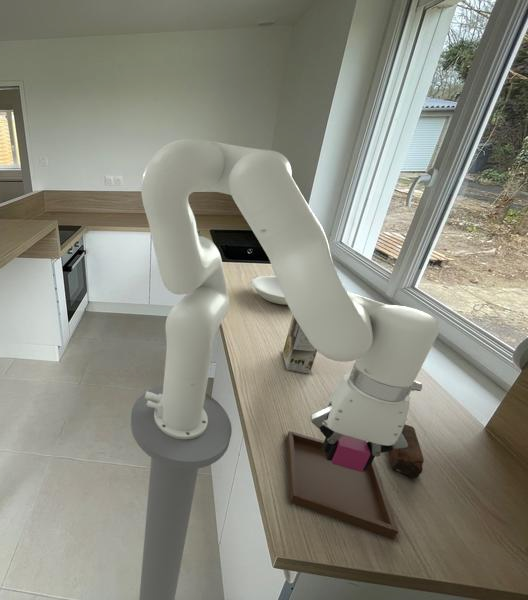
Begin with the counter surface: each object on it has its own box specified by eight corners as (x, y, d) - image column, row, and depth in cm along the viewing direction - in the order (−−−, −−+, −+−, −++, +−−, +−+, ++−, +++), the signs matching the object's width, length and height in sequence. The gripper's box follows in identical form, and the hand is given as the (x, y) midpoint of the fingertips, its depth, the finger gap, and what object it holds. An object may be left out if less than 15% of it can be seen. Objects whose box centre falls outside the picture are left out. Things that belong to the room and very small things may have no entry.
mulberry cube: (332, 463, 58) (339, 445, 56) (328, 444, 62) (335, 426, 60) (362, 472, 56) (370, 454, 54) (355, 451, 60) (364, 434, 58)
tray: (290, 502, 58) (293, 495, 57) (286, 437, 71) (288, 430, 70) (393, 539, 53) (398, 531, 52) (368, 461, 66) (372, 454, 65)
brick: (384, 434, 72) (392, 419, 70) (406, 442, 71) (414, 426, 69) (391, 471, 64) (400, 455, 62) (416, 481, 62) (427, 465, 60)
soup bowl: (315, 299, 137) (319, 285, 135) (300, 319, 121) (304, 303, 118) (259, 284, 151) (262, 271, 148) (238, 300, 135) (241, 285, 132)
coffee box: (310, 374, 91) (327, 325, 84) (286, 369, 93) (300, 321, 86) (304, 356, 99) (318, 310, 92) (281, 352, 101) (294, 306, 94)
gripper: (434, 380, 52) (392, 458, 60) (316, 355, 57) (292, 430, 65) (457, 412, 45) (406, 494, 53) (322, 381, 51) (294, 460, 59)
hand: (344, 458), depth 59 cm, fingers closed on mulberry cube, 4 cm apart
